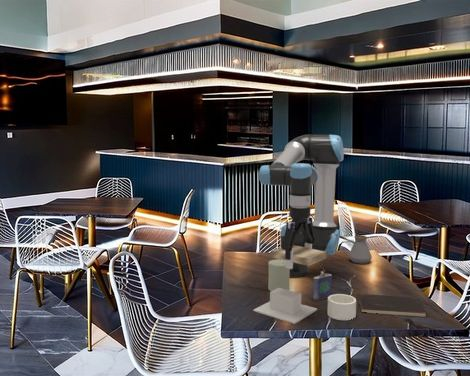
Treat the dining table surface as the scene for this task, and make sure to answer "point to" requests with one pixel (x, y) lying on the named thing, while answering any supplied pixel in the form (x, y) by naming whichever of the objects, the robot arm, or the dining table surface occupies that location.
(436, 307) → the dining table surface
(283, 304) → the stand
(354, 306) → the bowl
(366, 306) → the hardcover book
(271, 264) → the can
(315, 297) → the flask
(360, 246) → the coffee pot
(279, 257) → the wavy beige panel
